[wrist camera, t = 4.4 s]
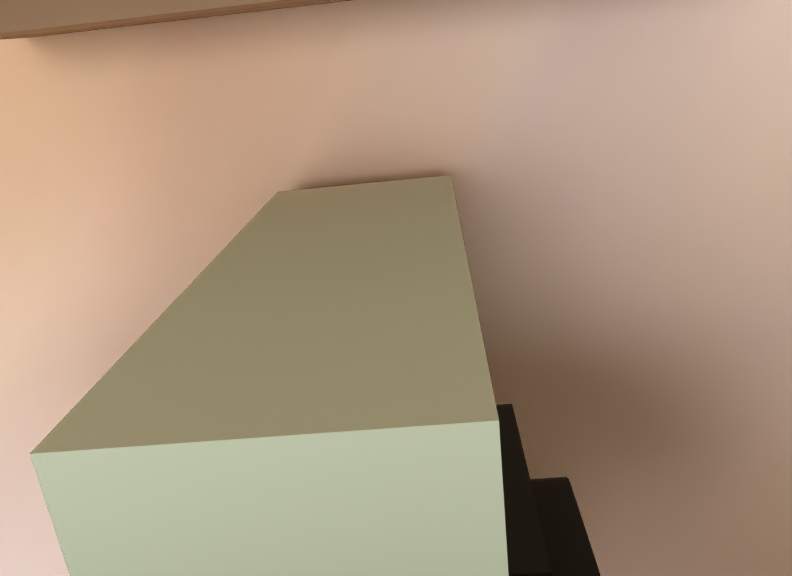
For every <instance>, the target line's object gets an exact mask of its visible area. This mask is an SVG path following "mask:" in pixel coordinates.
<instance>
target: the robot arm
mask: <svg viewBox="0 0 792 576" xmlns="http://www.w3.org/2000/svg"><path fill="white" fill-rule="evenodd" d="M496 408H497V413H498V418H499V429H500V445H501V461H502V477H503V493H504V509H505V525H506V541H507V557H508V573H509V576H600V573H599V569H598V566H597V563H596V560H595V557H594V554H593V551H592V548H591V545H590V542H589V539H588V536H587V533H586V530H585V527H584V524H583V521H582V518H581V515H580V511H579V508H578V505H577V502H576V499H575V496H574V493H573V490H572V487H571V484H570V482H569V479H568V478H567V477H560V478H545V479H530V477H529V473H528V469H527V465H526V460H525V456H524V452H523V448H522V444H521V440H520V435H519V431H518V427H517V423H516V419H515V415H514V410H513V406H512V404H503V405H496Z"/></svg>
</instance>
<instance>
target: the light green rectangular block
mask: <svg viewBox="0 0 792 576" xmlns="http://www.w3.org/2000/svg"><path fill="white" fill-rule="evenodd" d="M30 456H31V459H32V462H33V465H34V468H35V471H36V474H37V477H38V480H39V483H40V486H41V489H42V492H43V495H44V498H45V501H46V504H47V507H48V510H49V513H50V516H51V519H52V522H53V525H54V528H55V532H56V535H57V538H58V541H59V544H60V547H61V550H62V553H63V556H64V559H65V562H66V565H67V568H68V571H69V574H70V576H509V573H508V557H507V541H506V525H505V509H504V493H503V477H502V461H501V445H500V429H499V418H498V413H497V408H496V403H495V398H494V392H493V387H492V382H491V377H490V372H489V367H488V362H487V357H486V352H485V346H484V341H483V336H482V331H481V326H480V321H479V316H478V311H477V306H476V301H475V295H474V290H473V285H472V280H471V275H470V270H469V265H468V260H467V255H466V249H465V244H464V239H463V234H462V229H461V224H460V219H459V214H458V209H457V204H456V198H455V193H454V188H453V183H452V178H451V175H446V176H435V177H425V178H415V179H405V180H394V181H384V182H374V183H363V184H353V185H343V186H332V187H322V188H312V189H302V190H291V191H281V192H277V193H276V194H275V195H274V196H273V198H272V199H271V200H270V201H269V202H268V203H267V204H266V205H265V206H264V207H263V208H262V209H261V210H260V211H259V212H258V213H257V214H256V215H255V217H254V218H253V219H252V220H251V221H250V222H249V223H248V224H247V225H246V226H245V227H244V228H243V229H242V230H241V231H240V232H239V233H238V234H237V236H236V237H235V238H234V239H233V240H232V241H231V242H230V243H229V244H228V245H227V246H226V247H225V248H224V249H223V250H222V251H221V252H220V254H219V255H218V256H217V257H216V258H215V259H214V260H213V261H212V262H211V263H210V264H209V265H208V266H207V267H206V268H205V269H204V270H203V271H202V273H201V274H200V275H199V276H198V277H197V278H196V279H195V280H194V281H193V282H192V283H191V284H190V285H189V286H188V287H187V288H186V289H185V290H184V292H183V293H182V294H181V295H180V296H179V297H178V298H177V299H176V300H175V301H174V302H173V303H172V304H171V305H170V306H169V307H168V308H167V309H166V311H165V312H164V313H163V314H162V315H161V316H160V317H159V318H158V319H157V320H156V321H155V322H154V323H153V324H152V325H151V326H150V327H149V328H148V330H147V331H146V332H145V333H144V334H143V335H142V336H141V337H140V338H139V339H138V340H137V341H136V342H135V343H134V344H133V345H132V346H131V347H130V349H129V350H128V351H127V352H126V353H125V354H124V355H123V356H122V357H121V358H120V359H119V360H118V361H117V362H116V363H115V364H114V365H113V367H112V368H111V369H110V370H109V371H108V372H107V373H106V374H105V375H104V376H103V377H102V378H101V379H100V380H99V381H98V382H97V383H96V384H95V386H94V387H93V388H92V389H91V390H90V391H89V392H88V393H87V394H86V395H85V396H84V397H83V398H82V399H81V400H80V401H79V402H78V403H77V405H76V406H75V407H74V408H73V409H72V410H71V411H70V412H69V413H68V414H67V415H66V416H65V417H64V418H63V419H62V420H61V421H60V422H59V424H58V425H57V426H56V427H55V428H54V429H53V430H52V431H51V432H50V433H49V434H48V435H47V436H46V437H45V438H44V439H43V440H42V441H41V443H40V444H39V445H38V446H37V447H36V448H35V449H34V450H33V451H32V452H31V453H30Z"/></svg>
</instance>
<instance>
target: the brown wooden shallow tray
mask: <svg viewBox="0 0 792 576" xmlns="http://www.w3.org/2000/svg"><path fill="white" fill-rule="evenodd" d="M340 1H349V0H0V39H14V38H28V37H37V36H46V35H54V34H63V33H72V32H80V31H89V30H98V29H106V28H115V27H124V26H132V25H141V24H150V23H158V22H167V21H176V20H184V19H193V18H201V17H210V16H219V15H227V14H236V13H245V12H253V11H262V10H271V9H279V8H288V7H297V6H305V5H314V4H323V3H331V2H340Z"/></svg>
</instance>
